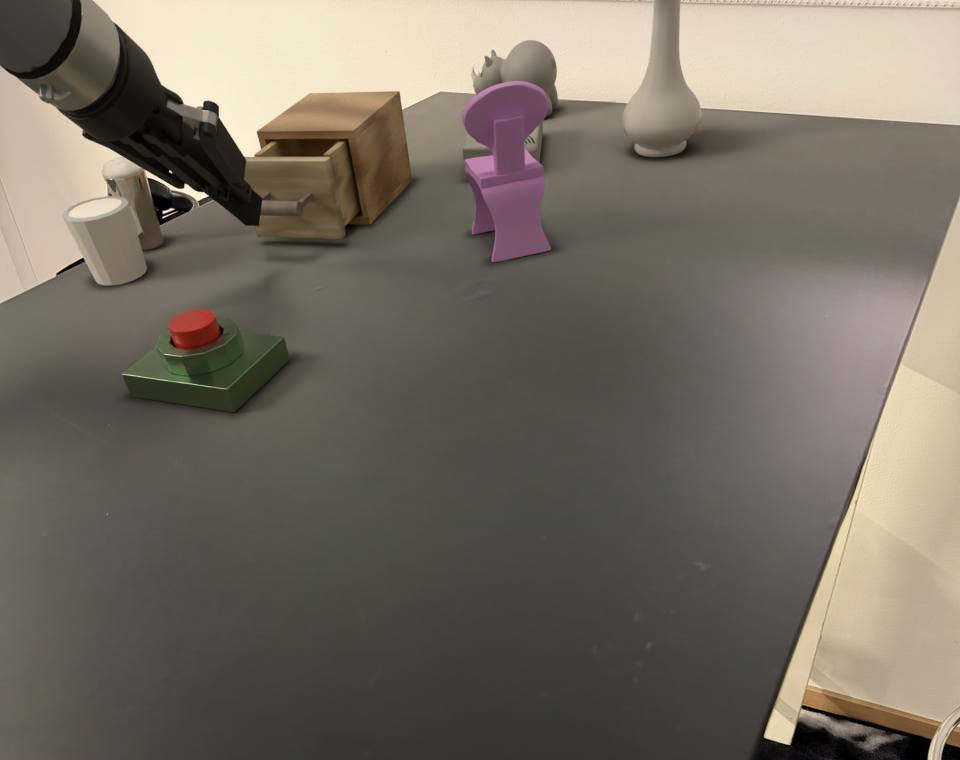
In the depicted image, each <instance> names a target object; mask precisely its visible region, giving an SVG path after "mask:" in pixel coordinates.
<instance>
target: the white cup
mask: <svg viewBox="0 0 960 760" xmlns="http://www.w3.org/2000/svg"><path fill="white" fill-rule="evenodd" d="M61 218H62V220H63V221H64V224H65V226H66V227H67V230H68V231H69V233H70V235H71V237H72V239H73V240H74V243H75V244H76V246H77V249H78V250H79V252H80V254H81V256H82V258H83V260H84V262H85V264H86V265H87V268H88V269H89V271H90V273H91V275H92V278H93V279H94V281H95V282H96V283H97V285H101V286H118V285H125V284H127V283H130V282H133V281H135V280H137V279H139V278H141V277H142V276H143V275H144V274H146V273H147V270H148V267H147V263H146V258H145V255H144V252H143V250H142V248H141V245H140V241H139V238H138V234H137V230H136V227H135V223H134V220H133V216H132V212H131V209H130V205H129V202H128V200H127V199H126V198H124V197H119V196H112V195H105V196H100V197H94V198H90V199H85V200H82V201H80V202H78V203H76V204H73V205H71V206H69V207H68V208H66V209H65V210H64V211H62V214H61Z"/></svg>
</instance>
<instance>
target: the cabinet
mask: <svg viewBox="0 0 960 760" xmlns="http://www.w3.org/2000/svg"><path fill="white" fill-rule="evenodd" d="M401 99H402V97H401V91H400V90H397V91H396V90H395V91H394V90H393V91H355V92H354V91H351V92H348V91H347V92H309V93H308V94H307V95H305V96H304V97H302V98H300V100H298V101H297V102H295V103H294V104H293V105H291V106H290V107H288V108H287V109H286V110H284V111H283V112H282V113H280V114H279V115H277V116H275V118H273V119H272V120H270V121H269V122H267V123H266V124H265V125H264V126H262V127H261V128H259V129H258V130H256V135H257V140H258V143H259V147H260V150H261V149H262V148H264V147H265V146H266V145H268V144H269V143H270V142H272V141H273V140H274V139H348V140H349V145H350V151H351V156H352V162H353V167H354V172H355V178H356V183H357V188H358V194H359V199H360V204H361V210H360V211H359V212H358V214H357V215H356V216H355V217H354V218H353V219H352V220H351V221H350V222H349V223H348V224H347V225H366V226H367V225H368V226H369V225H370V226H371V225H372V224H373V222H375V220H376V219H377V218H378V217H380V215H381V214H382V213H383V212H384V211H385V210H386V209H387V208H388V207H389V206H390V205H391V203H393V201H394V200H395V199H396V198H397V197H398V196H399V195H400V194H401V193H402V192H403V191H404V190H405V189H406V188H407V187H408V185H409V184H410V183H411V182H413V176H412V175H413V174H412V168H411V161H410V156H409V154H410V153H409V148H408V141H407V135H406V133H407V132H406V127H405V119H404V112H403V105H402V100H401Z"/></svg>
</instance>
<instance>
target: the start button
mask: <svg viewBox="0 0 960 760" xmlns="http://www.w3.org/2000/svg"><path fill="white" fill-rule="evenodd" d="M216 317H217V316H216V314H215V313H214V312H213V311H212V310H209V309H203V308H202V309H192V310H187V311H184V312H182V313H179V314H177V315H175V316H174V317H172V318H171V319H170V320H169V322H168V323H167V328H168V329H169V331H170V334H171V336H172V339H173V342H174V344H175V346H176V347H177V348H180V349H192V348H199V347H203V346H205V345H207V344H210V343H212V342H215V341H216V340H217V339H218V338H220V337H221V331H220V328H219V325H218V322H217V319H216Z"/></svg>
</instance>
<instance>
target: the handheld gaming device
mask: <svg viewBox="0 0 960 760" xmlns="http://www.w3.org/2000/svg"><path fill="white" fill-rule="evenodd" d="M543 125H544V123H543V121H542V122H541V124H540V125H539V126H538V127H537V128H536V129H535V130H534V131H533V132H532V133H531V134H530V135H529V136H528V137H527V138H526V139H525V141H524V143H525V149H526V150H527V151H528V152H529V153H530V155H531V156H532V157H533V158H534V159H535V160H536V161H538V162H539V163H540V160H541V151H542V142H543V132H544V130H543V129H544V127H543ZM491 155H493V152H492V150H491V149H489V148H488V147H486V146H485V145H483V144H480V143H478V142H476V140H475V139H474V138H473V137H471V136H470V135H469V134H468V132H466V136H465V141H464V143H463V147H462V159H463V160H462V161H464V160H465V159H470V158H475V157H483V156H491ZM463 167H464V169H463V170H465V163H464V162H463ZM464 176H465V177H466V175H465V174H464Z"/></svg>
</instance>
